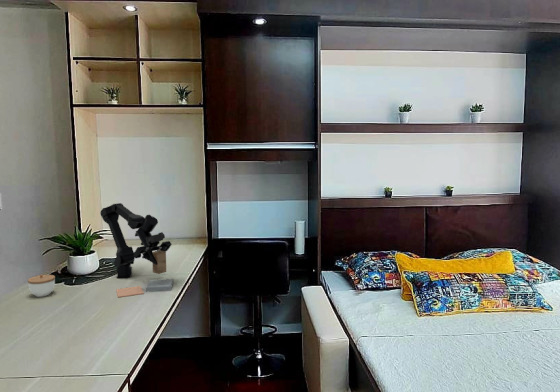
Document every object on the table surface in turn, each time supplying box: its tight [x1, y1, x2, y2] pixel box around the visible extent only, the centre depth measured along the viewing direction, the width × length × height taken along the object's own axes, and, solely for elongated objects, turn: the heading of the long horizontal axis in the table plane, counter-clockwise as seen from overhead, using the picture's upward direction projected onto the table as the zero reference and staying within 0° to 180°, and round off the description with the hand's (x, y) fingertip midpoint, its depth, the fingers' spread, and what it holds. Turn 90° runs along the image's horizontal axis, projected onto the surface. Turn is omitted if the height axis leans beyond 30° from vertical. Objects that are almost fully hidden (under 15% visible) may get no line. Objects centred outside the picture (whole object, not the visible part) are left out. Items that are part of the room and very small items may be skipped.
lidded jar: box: [27, 274, 56, 298], centre depth 183 cm, size 11×11×9 cm
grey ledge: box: [145, 278, 174, 292], centre depth 193 cm, size 11×11×2 cm
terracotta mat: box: [116, 285, 145, 298], centre depth 186 cm, size 11×11×1 cm
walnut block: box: [152, 250, 167, 275], centre depth 192 cm, size 4×4×10 cm
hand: (161, 263), depth 191 cm, fingers closed on walnut block, 4 cm apart
